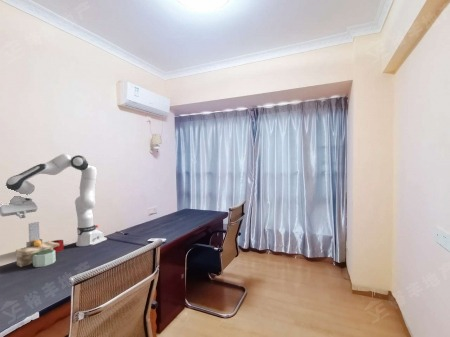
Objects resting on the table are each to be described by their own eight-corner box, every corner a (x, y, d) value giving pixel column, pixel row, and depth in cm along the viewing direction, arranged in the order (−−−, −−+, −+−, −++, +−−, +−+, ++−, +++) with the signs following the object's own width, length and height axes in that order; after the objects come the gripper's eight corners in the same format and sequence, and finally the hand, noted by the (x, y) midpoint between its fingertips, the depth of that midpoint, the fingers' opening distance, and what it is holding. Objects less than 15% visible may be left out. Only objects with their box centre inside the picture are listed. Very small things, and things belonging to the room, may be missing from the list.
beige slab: (48, 255, 162) (48, 241, 162) (59, 258, 156) (59, 243, 156) (16, 265, 146) (16, 249, 146) (27, 269, 140) (27, 252, 140)
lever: (56, 248, 178) (56, 239, 178) (66, 248, 176) (66, 239, 176) (33, 257, 160) (32, 247, 160) (44, 257, 159) (44, 248, 159)
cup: (49, 259, 155) (49, 248, 155) (58, 261, 150) (57, 250, 150) (30, 265, 146) (30, 254, 146) (39, 268, 141) (38, 256, 141)
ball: (39, 245, 154) (39, 239, 154) (42, 245, 152) (42, 239, 152) (32, 247, 151) (32, 240, 151) (35, 247, 149) (35, 241, 149)
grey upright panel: (40, 243, 157) (40, 221, 157) (42, 243, 156) (41, 221, 156) (26, 246, 150) (25, 224, 150) (28, 247, 149) (27, 224, 149)
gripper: (-2, 202, 154) (5, 217, 150) (34, 198, 172) (41, 211, 168) (-5, 208, 156) (2, 223, 152) (31, 203, 174) (38, 217, 170)
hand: (23, 217), depth 160 cm, fingers closed
